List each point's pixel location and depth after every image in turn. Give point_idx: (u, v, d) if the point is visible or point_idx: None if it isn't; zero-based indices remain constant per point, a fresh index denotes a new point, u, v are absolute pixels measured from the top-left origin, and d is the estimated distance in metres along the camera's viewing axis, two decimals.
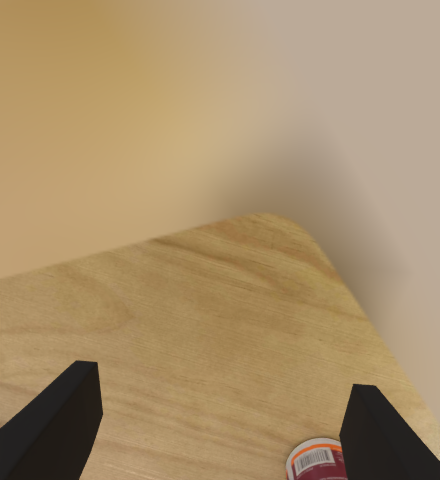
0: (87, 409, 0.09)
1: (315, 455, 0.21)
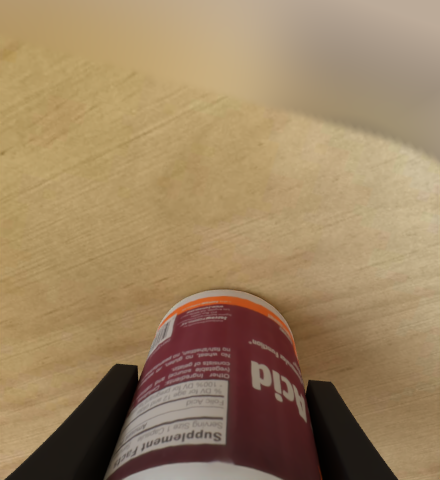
0: None
1: (153, 342, 0.11)
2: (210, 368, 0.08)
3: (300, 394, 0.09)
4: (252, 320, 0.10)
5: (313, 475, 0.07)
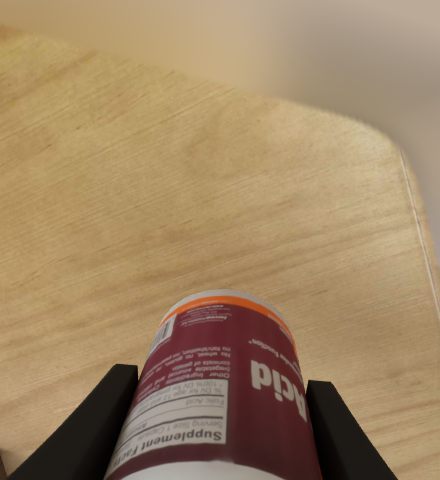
0: None
1: (153, 342, 0.11)
2: (210, 367, 0.08)
3: (300, 394, 0.09)
4: (252, 320, 0.10)
5: (313, 474, 0.07)
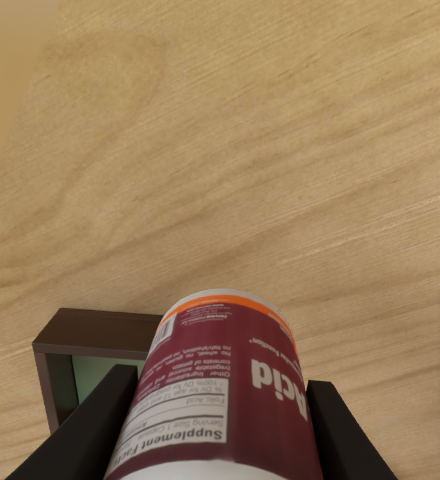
0: None
1: (153, 341, 0.11)
2: (210, 366, 0.08)
3: (301, 393, 0.09)
4: (252, 319, 0.10)
5: (314, 473, 0.07)
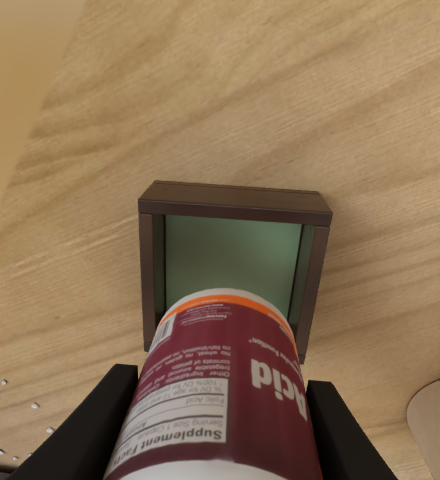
0: None
1: (153, 341, 0.11)
2: (210, 365, 0.08)
3: (300, 392, 0.09)
4: (252, 318, 0.10)
5: (313, 473, 0.07)
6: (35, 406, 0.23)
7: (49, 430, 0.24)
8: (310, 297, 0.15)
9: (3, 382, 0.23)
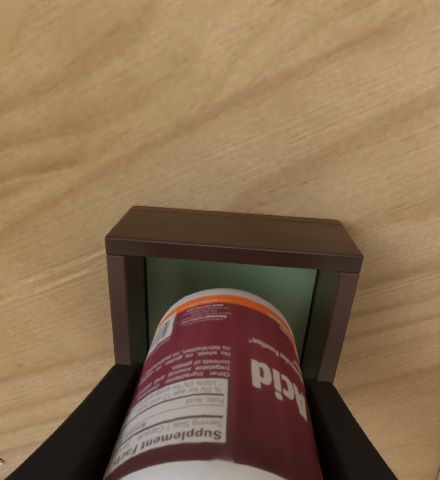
0: None
1: (153, 341, 0.11)
2: (210, 366, 0.08)
3: (300, 393, 0.09)
4: (252, 318, 0.10)
5: (313, 473, 0.07)
6: None
7: None
8: (331, 359, 0.12)
9: None
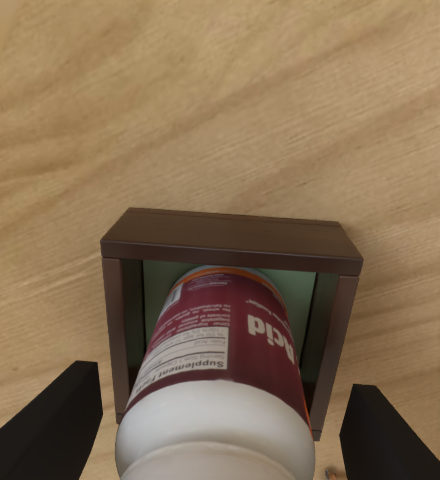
0: (87, 409, 0.09)
1: (163, 307, 0.12)
2: (213, 318, 0.10)
3: (289, 344, 0.10)
4: (249, 285, 0.12)
5: (298, 398, 0.08)
6: None
7: None
8: (330, 363, 0.12)
9: None
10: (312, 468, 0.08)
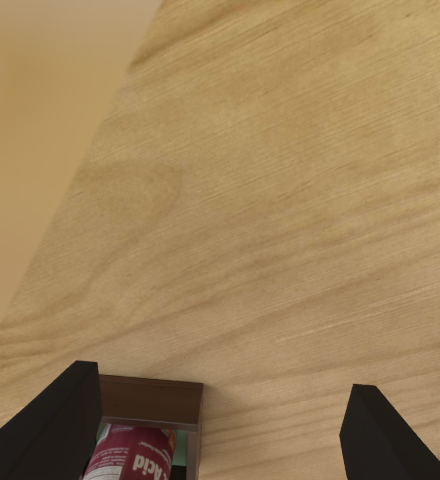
0: (87, 409, 0.09)
1: (100, 436, 0.22)
2: (117, 459, 0.19)
3: (159, 468, 0.20)
4: (145, 428, 0.21)
5: None
6: None
7: None
8: (191, 470, 0.21)
9: None
10: None
